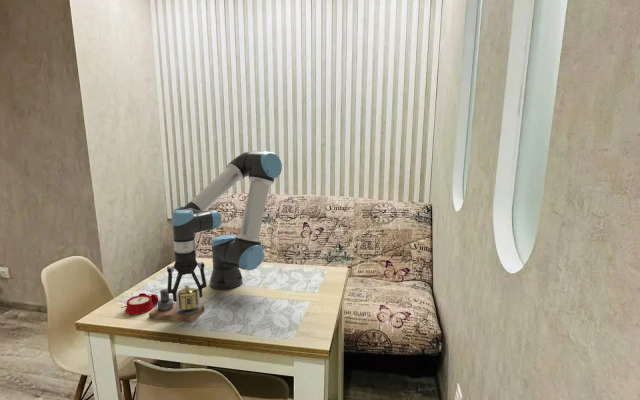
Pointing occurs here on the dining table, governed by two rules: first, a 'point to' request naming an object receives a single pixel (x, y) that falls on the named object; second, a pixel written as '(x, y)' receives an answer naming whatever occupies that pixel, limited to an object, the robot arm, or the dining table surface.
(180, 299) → the cap
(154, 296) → the alarm clock
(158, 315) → the post plinth
